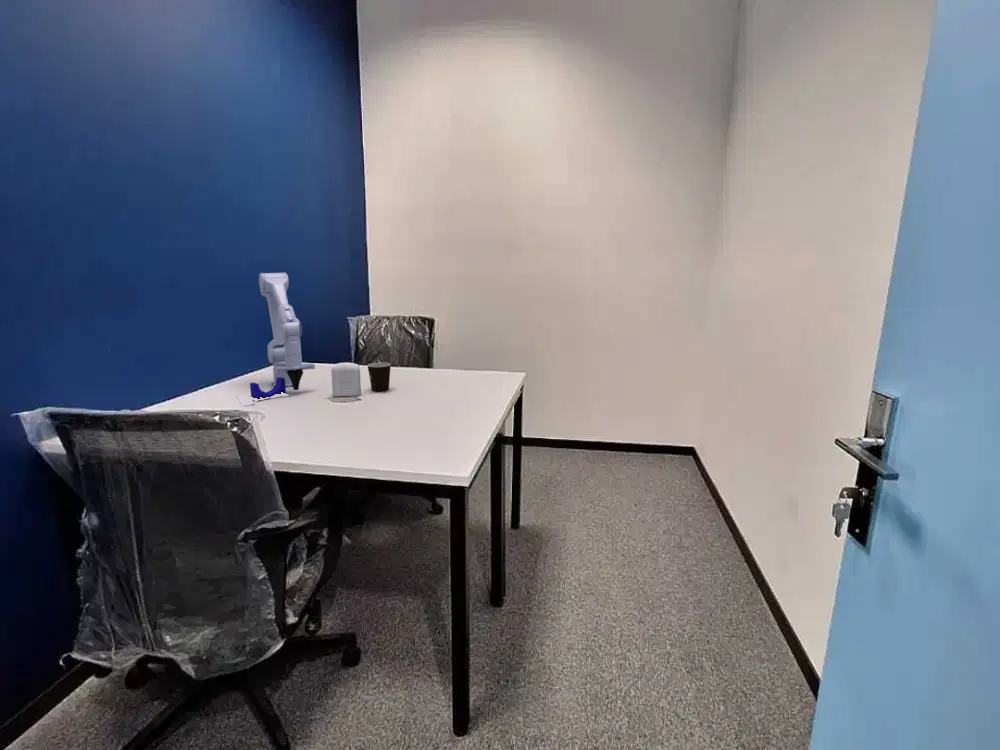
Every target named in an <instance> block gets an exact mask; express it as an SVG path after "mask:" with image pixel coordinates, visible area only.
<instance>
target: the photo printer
mask: <svg viewBox="0 0 1000 750" xmlns="http://www.w3.org/2000/svg"><path fill="white" fill-rule="evenodd" d="M361 381H362V380H361V368H360V365H359V364H357V363H353V362H339V363H335V364H333V365H332V366H331V384H332V385H331V389H332V396H333V397H357V396H358V397H359V396H360V397H361V396H362V389H361V388H362V387H361Z"/></svg>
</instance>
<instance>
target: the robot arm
mask: <svg viewBox="0 0 1000 750" xmlns="http://www.w3.org/2000/svg"><path fill="white" fill-rule="evenodd" d="M258 276H259V277H258V284H259V289H260V293H261V296H262V297H265V298H266V301H267V304H268V311H269V318H270V325H271V328H272V329H271V330H272V338H273V339H271V341H270V342H269V343H268V344H267V358H268V361H269V363H270V364H272V371H273V372H272V374H273V381H272V382H271V384H272V383H274V384H276V378H278V377H282V378H285V386H288V387H292V388H293V390H294V391H299V387H300V381H301V380H302V377H303V375H304V371H305V370H306V371H307V370H315V369H316V364H315V363H313V362H311V363H303V359H302V357H303V356H302V349H301V348H302V345H301V337H302V333H303V332H302V331H303V328H302V324H301V322H300V320H299V318H297V317H296V314H295V310H294V307H293V306H292V305H290V304H289V300H288V296H287V291H288V288H289V285H290V284H289V283H290V282H289V281H290V280H289V276H288V274H287V273H286V272H268V273H267V272H265V273H264V272H260V274H259V275H258ZM291 385H293V386H291Z"/></svg>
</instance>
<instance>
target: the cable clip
mask: <svg viewBox="0 0 1000 750" xmlns="http://www.w3.org/2000/svg"><path fill="white" fill-rule="evenodd" d="M249 388H250V390H249V391H250V397H253V398H257V399H260V397H262V398H266V397H271V396H273V395H275V394H281V392H283V393H287V389H286V388H287V387H285V378H282V377H278V378H276V384H275V386H274V385H273V387H272V388H271V389H270V390H268V391H264V390H262V389H261V388H260V385H259V383H258V382H250V383H249Z"/></svg>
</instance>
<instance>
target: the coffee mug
mask: <svg viewBox="0 0 1000 750" xmlns="http://www.w3.org/2000/svg"><path fill="white" fill-rule="evenodd" d="M391 364H392V363H389V362H373V363H368V364H367V371H368V375H369V376H368V377H369V382H370V388H371V392H372V393H385V392H388V391H389V390H390V382H391V381H390V380H391V379H390V377H391Z"/></svg>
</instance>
